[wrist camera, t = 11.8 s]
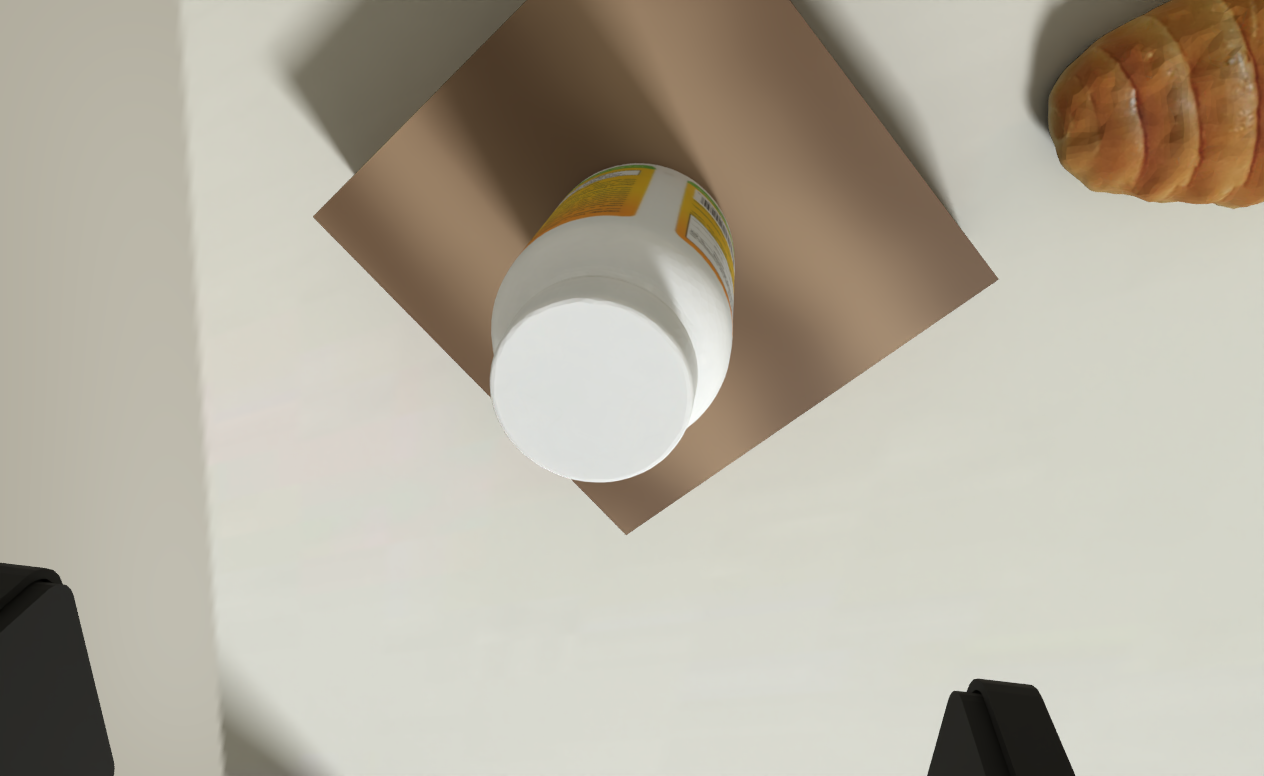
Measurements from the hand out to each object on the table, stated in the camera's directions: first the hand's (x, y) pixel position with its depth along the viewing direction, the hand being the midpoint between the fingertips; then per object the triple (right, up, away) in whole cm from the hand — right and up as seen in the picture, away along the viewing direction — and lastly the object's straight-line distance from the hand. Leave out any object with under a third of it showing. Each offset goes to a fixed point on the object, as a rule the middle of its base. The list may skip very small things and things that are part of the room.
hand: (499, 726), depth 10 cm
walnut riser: (+2, +9, +20) cm, 22 cm away
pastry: (+19, +12, +17) cm, 29 cm away
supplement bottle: (+2, +7, +17) cm, 18 cm away
